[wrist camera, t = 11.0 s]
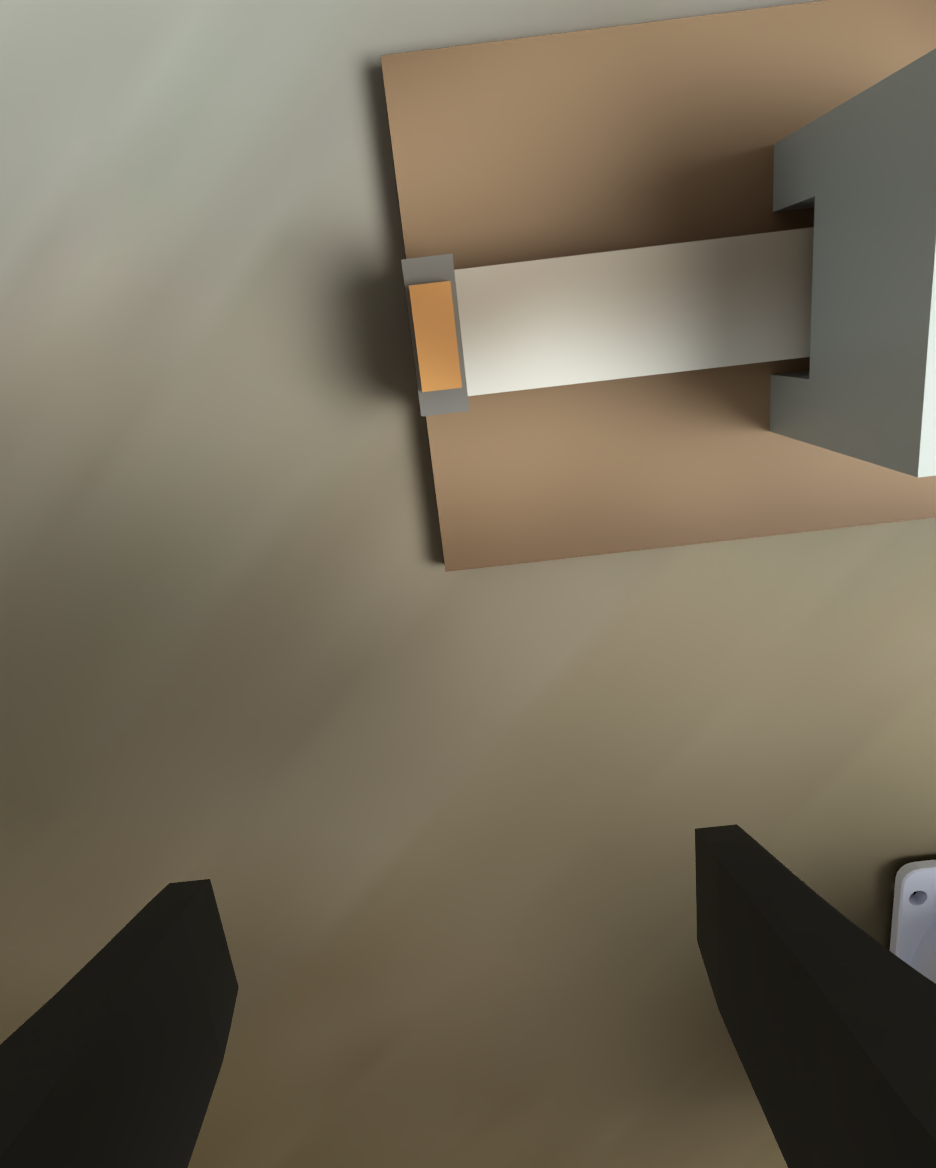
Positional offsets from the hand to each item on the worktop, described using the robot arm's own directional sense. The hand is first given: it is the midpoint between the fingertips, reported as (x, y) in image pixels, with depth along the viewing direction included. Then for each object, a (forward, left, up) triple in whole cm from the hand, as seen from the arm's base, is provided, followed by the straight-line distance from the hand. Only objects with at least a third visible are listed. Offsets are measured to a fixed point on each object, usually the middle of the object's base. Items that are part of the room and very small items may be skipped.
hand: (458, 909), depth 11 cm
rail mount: (+8, -9, -9) cm, 15 cm away
